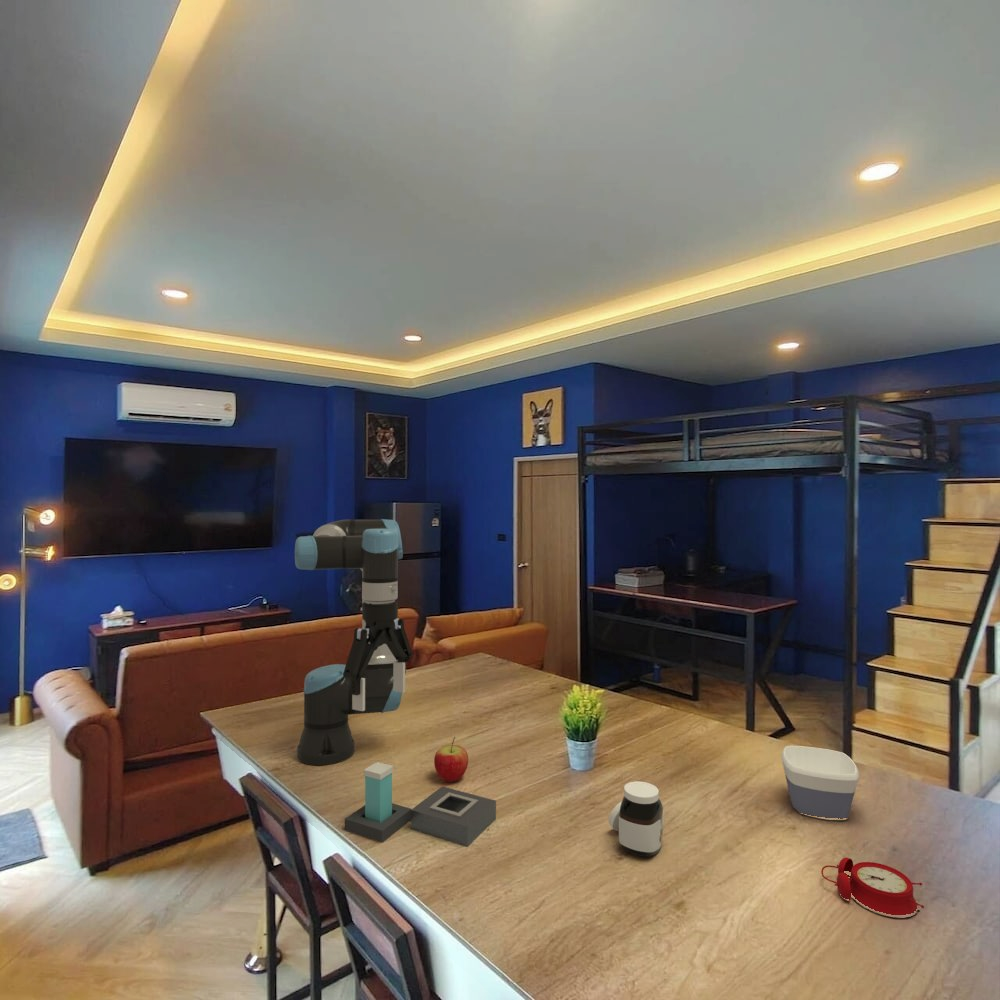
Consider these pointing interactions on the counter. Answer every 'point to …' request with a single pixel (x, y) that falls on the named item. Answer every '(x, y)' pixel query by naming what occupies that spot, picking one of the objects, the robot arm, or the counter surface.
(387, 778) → the plug
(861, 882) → the alarm clock
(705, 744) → the counter surface
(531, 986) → the counter surface
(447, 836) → the port
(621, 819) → the spread jar
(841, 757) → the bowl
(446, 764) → the apple
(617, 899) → the counter surface
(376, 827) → the dark grey square frame
